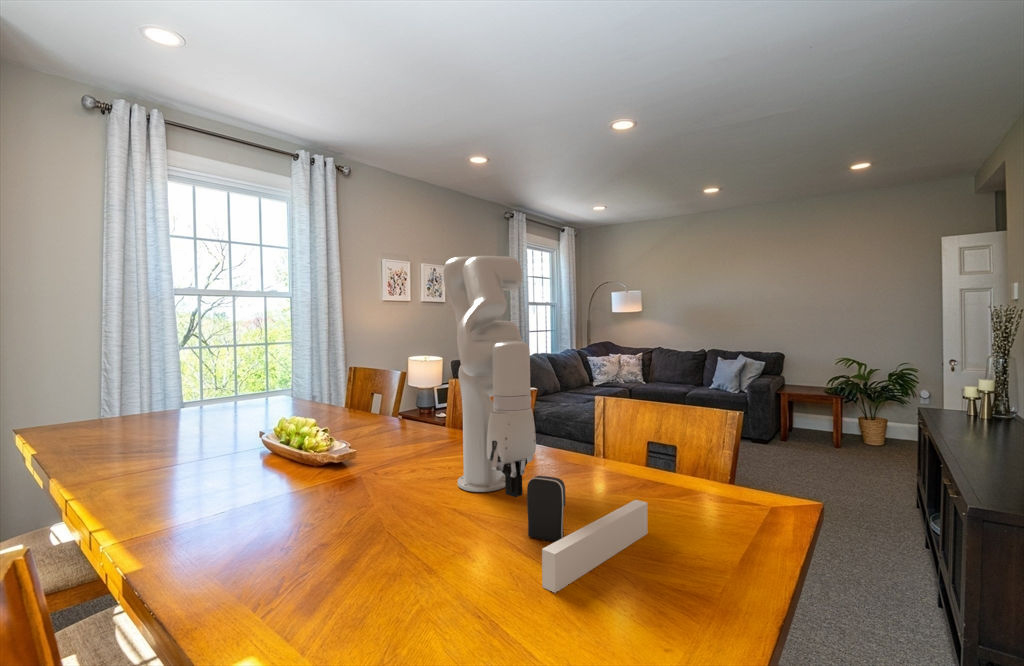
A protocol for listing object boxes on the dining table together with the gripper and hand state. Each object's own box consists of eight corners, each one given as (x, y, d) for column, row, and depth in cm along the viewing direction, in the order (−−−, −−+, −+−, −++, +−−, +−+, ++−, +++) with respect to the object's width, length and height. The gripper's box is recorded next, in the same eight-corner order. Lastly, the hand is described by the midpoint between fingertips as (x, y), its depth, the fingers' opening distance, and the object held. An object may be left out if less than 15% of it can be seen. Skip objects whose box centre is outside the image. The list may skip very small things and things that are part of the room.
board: (635, 529, 97) (635, 499, 97) (647, 533, 96) (647, 502, 95) (542, 587, 77) (542, 548, 77) (554, 593, 75) (554, 554, 75)
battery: (567, 535, 95) (567, 476, 95) (561, 544, 92) (561, 482, 91) (533, 530, 98) (533, 472, 97) (526, 538, 94) (525, 478, 94)
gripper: (523, 397, 108) (525, 482, 108) (471, 406, 97) (473, 500, 97) (550, 400, 103) (552, 489, 103) (498, 409, 92) (500, 509, 92)
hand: (514, 494), depth 100 cm, fingers closed
